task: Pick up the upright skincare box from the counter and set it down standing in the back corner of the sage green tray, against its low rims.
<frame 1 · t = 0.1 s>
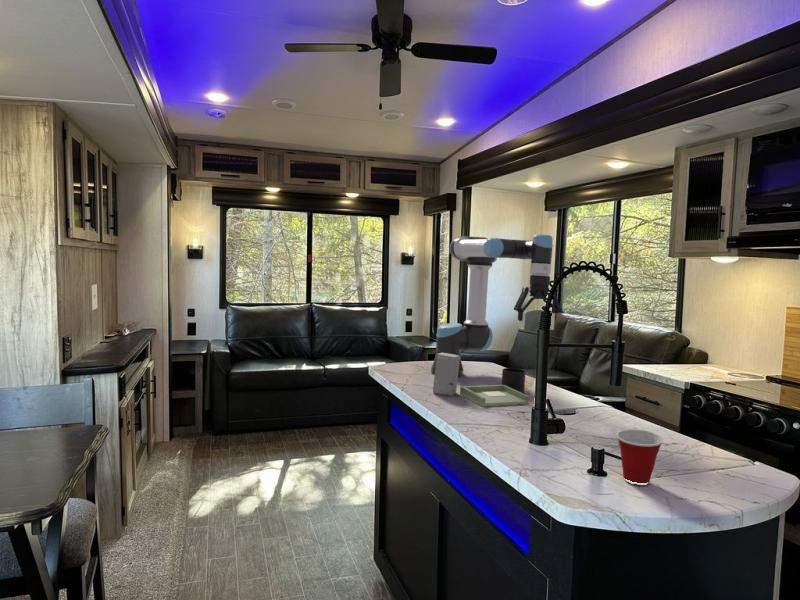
hand: (536, 329, 209), 28 cm above the worktop, fingers open, 13 cm apart
skincare box: (445, 393, 215), on the worktop
sage green tray: (493, 399, 209), on the worktop
plastic cup: (635, 482, 135), on the worktop
mug: (511, 391, 225), on the worktop
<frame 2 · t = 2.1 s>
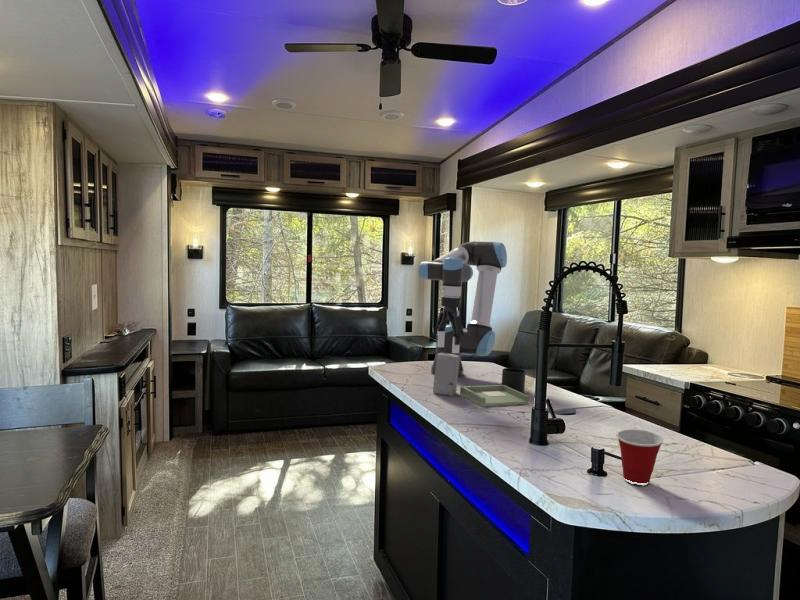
hand: (447, 350, 213), 17 cm above the worktop, fingers open, 13 cm apart
nothing on the worktop moved.
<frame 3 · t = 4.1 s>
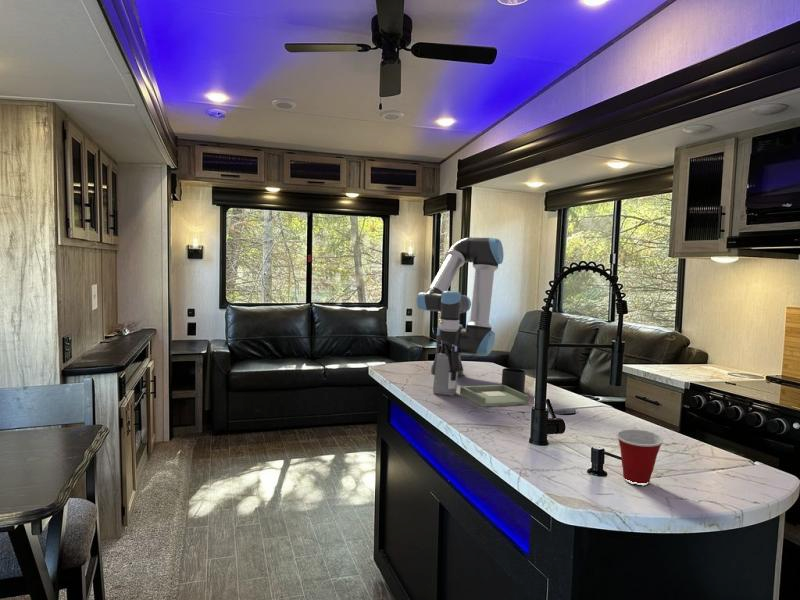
hand: (445, 385, 215), 3 cm above the worktop, fingers closed on skincare box, 10 cm apart
skincare box: (445, 393, 215), on the worktop, touching gripper
everything else where it was.
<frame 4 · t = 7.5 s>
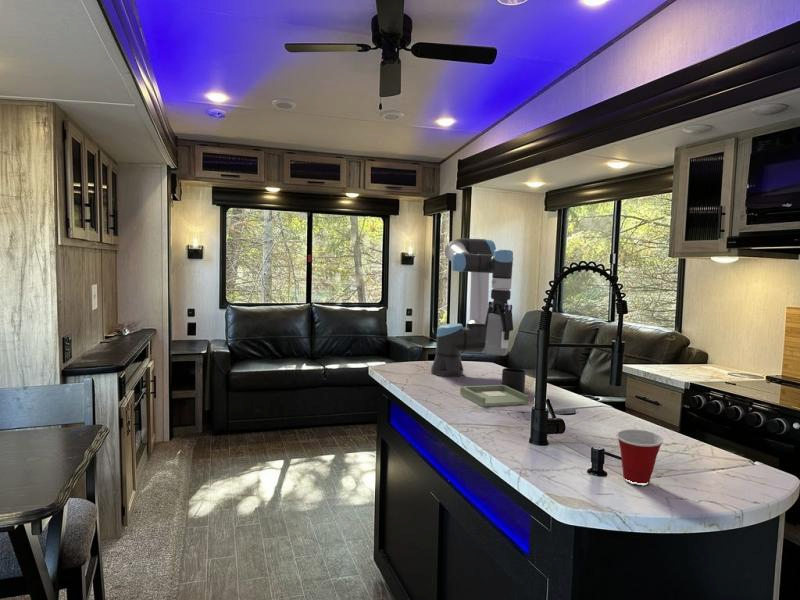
hand: (497, 345, 211), 21 cm above the worktop, fingers closed on skincare box, 10 cm apart
skincare box: (496, 354, 211), point 17 cm above the worktop, touching gripper
everything else where it was.
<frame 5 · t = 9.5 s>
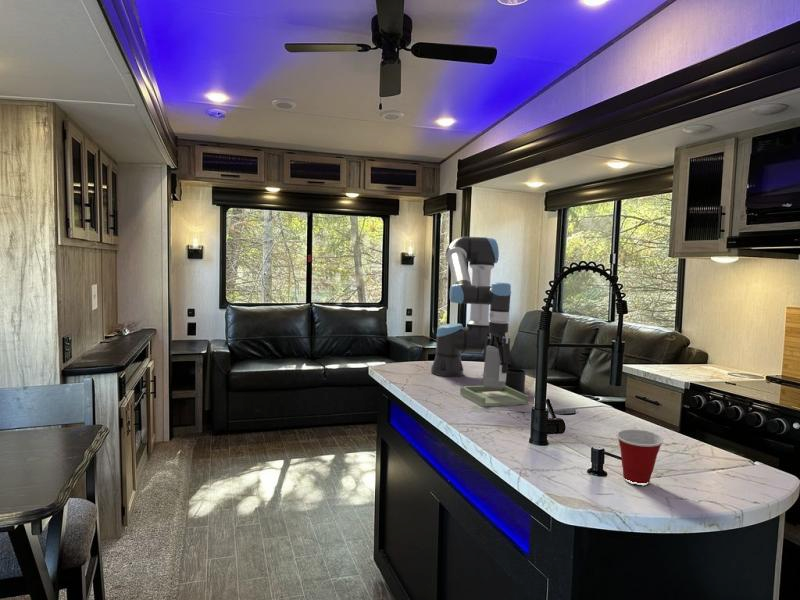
hand: (495, 378, 212), 8 cm above the worktop, fingers closed on skincare box, 10 cm apart
skincare box: (494, 386, 212), point 4 cm above the worktop, touching gripper
everything else where it was.
when the fingers open (6 cm above the worktop, at t = 11.0 s): skincare box stays where it is, resting on sage green tray.
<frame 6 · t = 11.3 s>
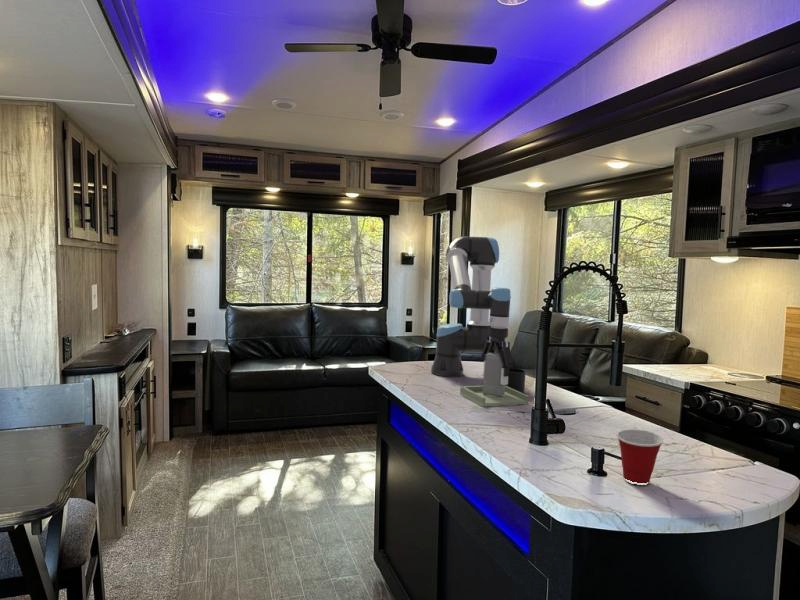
hand: (495, 380, 212), 7 cm above the worktop, fingers open, 13 cm apart
skincare box: (494, 393, 212), point 1 cm above the worktop, touching sage green tray
everything else where it was.
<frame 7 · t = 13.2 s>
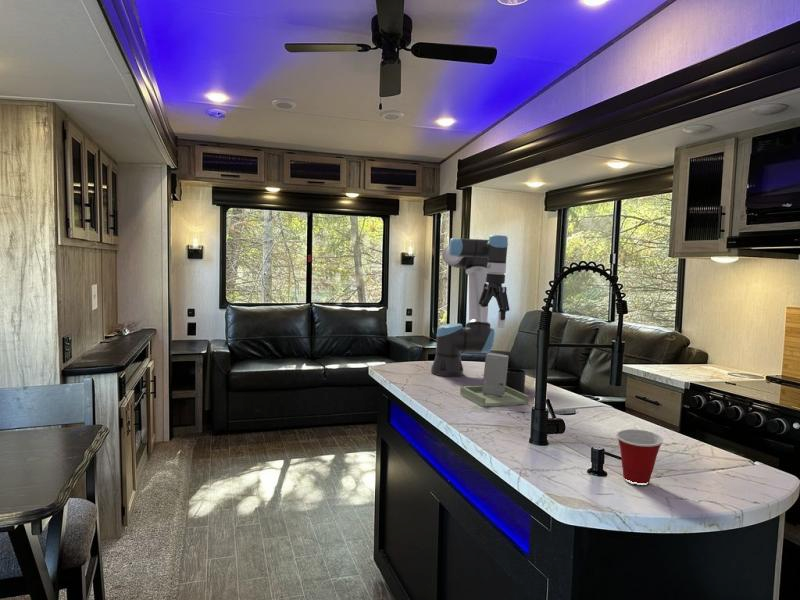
hand: (492, 325, 220), 28 cm above the worktop, fingers open, 13 cm apart
nothing on the worktop moved.
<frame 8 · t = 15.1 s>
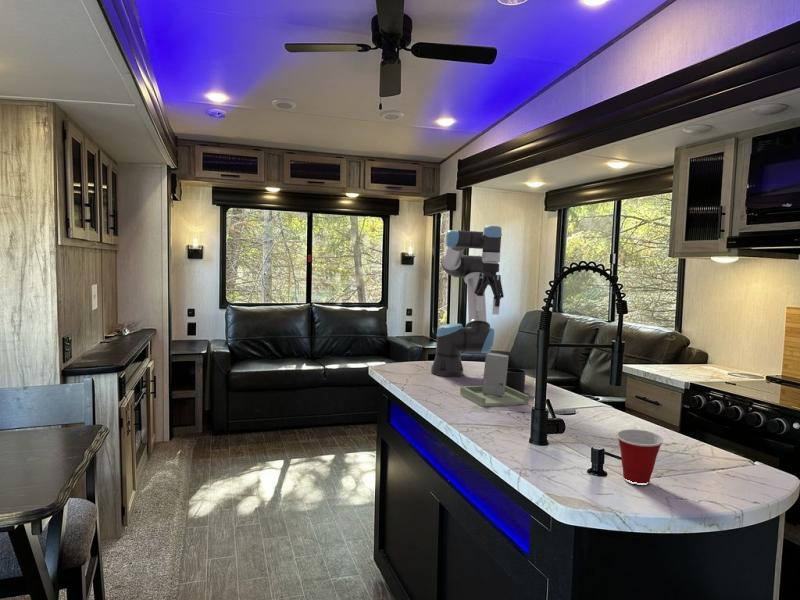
hand: (487, 312, 229), 32 cm above the worktop, fingers open, 13 cm apart
nothing on the worktop moved.
at the end: skincare box inside the target area on the sage green tray (1.0 cm from its centre), point 1.2 cm above the sage green tray's base; skincare box tilted 0°; the gripper is holding nothing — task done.
